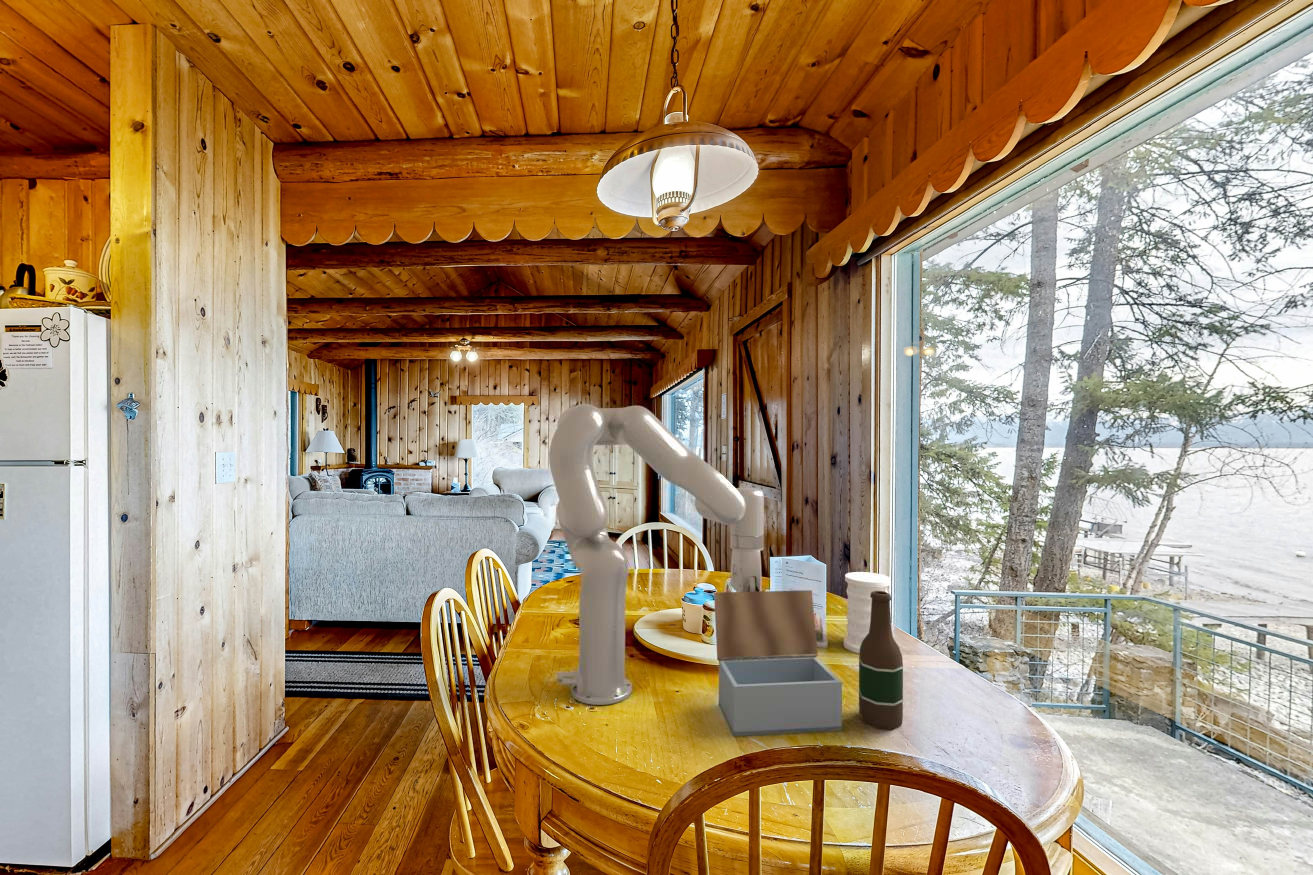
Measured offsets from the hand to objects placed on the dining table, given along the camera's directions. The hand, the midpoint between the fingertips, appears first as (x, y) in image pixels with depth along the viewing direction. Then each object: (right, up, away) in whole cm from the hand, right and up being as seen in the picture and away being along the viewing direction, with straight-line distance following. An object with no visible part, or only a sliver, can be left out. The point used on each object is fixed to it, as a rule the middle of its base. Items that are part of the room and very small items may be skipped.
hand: (746, 622), depth 127 cm
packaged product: (+21, -12, +24) cm, 34 cm away
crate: (+2, -11, -22) cm, 24 cm away
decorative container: (+33, -12, +15) cm, 39 cm away
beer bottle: (+22, -11, -22) cm, 33 cm away
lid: (+2, +4, -14) cm, 15 cm away
